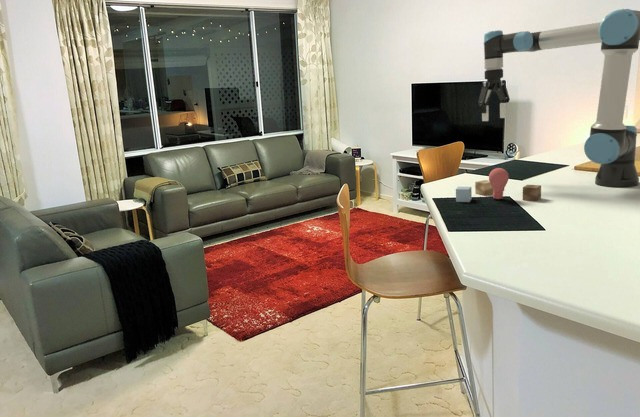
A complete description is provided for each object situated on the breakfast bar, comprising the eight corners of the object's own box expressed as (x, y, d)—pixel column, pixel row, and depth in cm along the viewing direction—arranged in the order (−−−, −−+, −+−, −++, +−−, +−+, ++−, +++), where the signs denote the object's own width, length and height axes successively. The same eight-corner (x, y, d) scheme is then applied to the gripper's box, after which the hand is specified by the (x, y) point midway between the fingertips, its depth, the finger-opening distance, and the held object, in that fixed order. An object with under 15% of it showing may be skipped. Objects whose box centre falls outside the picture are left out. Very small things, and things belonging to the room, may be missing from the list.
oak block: (493, 193, 204) (493, 181, 203) (484, 195, 202) (483, 183, 201) (484, 192, 209) (484, 180, 207) (475, 193, 207) (475, 181, 205)
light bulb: (509, 197, 196) (509, 166, 193) (507, 201, 189) (507, 169, 187) (490, 197, 199) (489, 166, 196) (487, 201, 192) (487, 169, 190)
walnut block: (540, 198, 190) (541, 185, 189) (536, 201, 187) (536, 188, 186) (527, 197, 194) (527, 184, 192) (522, 200, 190) (522, 187, 189)
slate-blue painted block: (471, 199, 198) (471, 186, 197) (469, 202, 194) (469, 189, 192) (458, 199, 200) (458, 186, 199) (456, 202, 196) (455, 189, 195)
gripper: (502, 68, 228) (502, 116, 232) (468, 71, 213) (469, 122, 217) (517, 67, 222) (518, 116, 226) (484, 69, 207) (485, 122, 212)
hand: (494, 119), depth 222 cm, fingers open, 13 cm apart
